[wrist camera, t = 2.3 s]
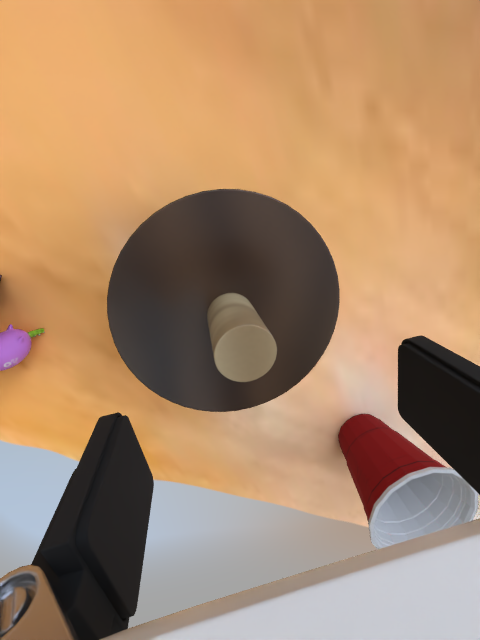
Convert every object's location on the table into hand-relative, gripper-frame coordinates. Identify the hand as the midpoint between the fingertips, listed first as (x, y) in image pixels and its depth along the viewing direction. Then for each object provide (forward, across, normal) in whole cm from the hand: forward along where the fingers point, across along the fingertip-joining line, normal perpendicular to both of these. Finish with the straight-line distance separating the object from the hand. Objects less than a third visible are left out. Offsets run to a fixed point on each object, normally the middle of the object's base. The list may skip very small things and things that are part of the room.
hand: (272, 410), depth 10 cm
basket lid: (+10, 0, 0) cm, 10 cm away
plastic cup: (+20, -13, +23) cm, 33 cm away
